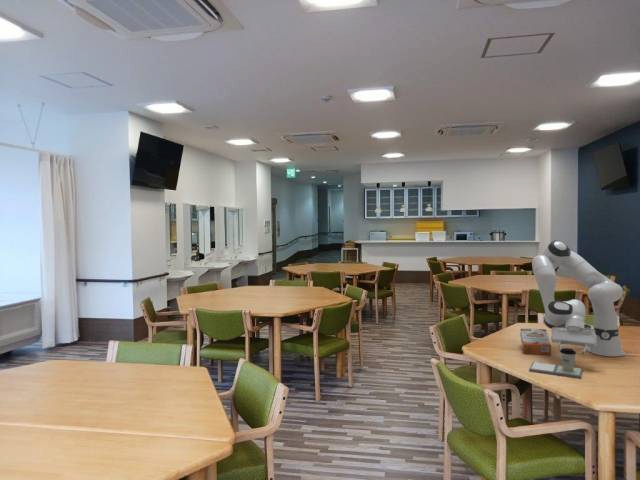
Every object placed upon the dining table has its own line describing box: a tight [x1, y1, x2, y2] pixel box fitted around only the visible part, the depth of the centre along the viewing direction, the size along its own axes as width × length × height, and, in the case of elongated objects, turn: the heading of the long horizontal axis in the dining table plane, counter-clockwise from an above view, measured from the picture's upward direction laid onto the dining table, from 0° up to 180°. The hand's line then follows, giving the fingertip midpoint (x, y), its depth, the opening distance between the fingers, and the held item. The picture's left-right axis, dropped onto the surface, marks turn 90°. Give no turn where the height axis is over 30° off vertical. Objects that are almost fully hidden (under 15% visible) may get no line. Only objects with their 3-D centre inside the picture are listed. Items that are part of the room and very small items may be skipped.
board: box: [528, 361, 584, 379], centre depth 220 cm, size 14×22×1 cm, turn 57°
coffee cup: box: [559, 347, 577, 372], centre depth 217 cm, size 7×7×10 cm
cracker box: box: [519, 327, 552, 356], centre depth 258 cm, size 14×6×21 cm
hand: (572, 351), depth 223 cm, fingers open, 8 cm apart
